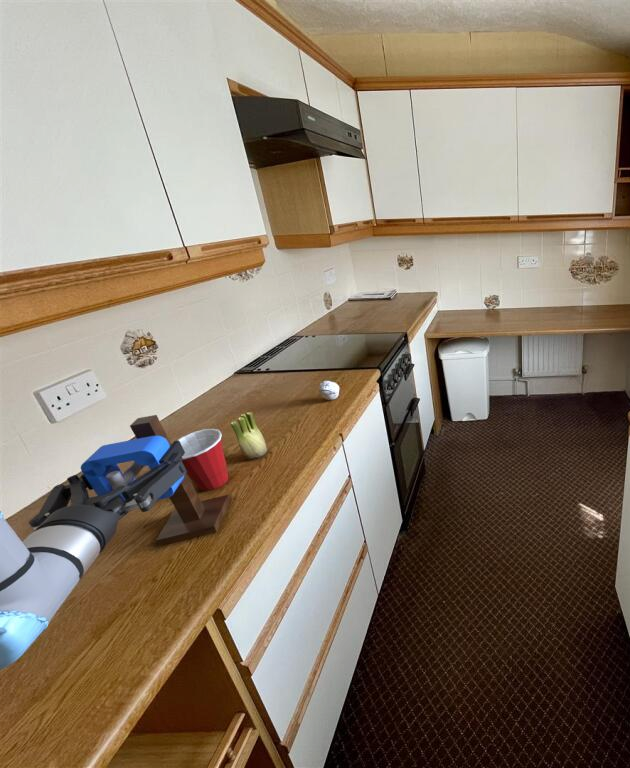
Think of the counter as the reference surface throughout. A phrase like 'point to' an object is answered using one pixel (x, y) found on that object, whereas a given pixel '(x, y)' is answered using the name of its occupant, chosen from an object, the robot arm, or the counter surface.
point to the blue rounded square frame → (132, 450)
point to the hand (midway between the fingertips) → (145, 453)
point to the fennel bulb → (249, 437)
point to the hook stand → (176, 495)
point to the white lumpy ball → (329, 390)
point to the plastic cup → (204, 458)
